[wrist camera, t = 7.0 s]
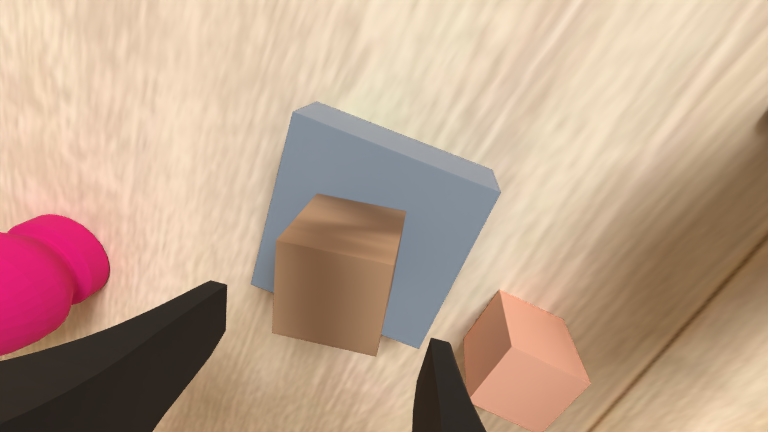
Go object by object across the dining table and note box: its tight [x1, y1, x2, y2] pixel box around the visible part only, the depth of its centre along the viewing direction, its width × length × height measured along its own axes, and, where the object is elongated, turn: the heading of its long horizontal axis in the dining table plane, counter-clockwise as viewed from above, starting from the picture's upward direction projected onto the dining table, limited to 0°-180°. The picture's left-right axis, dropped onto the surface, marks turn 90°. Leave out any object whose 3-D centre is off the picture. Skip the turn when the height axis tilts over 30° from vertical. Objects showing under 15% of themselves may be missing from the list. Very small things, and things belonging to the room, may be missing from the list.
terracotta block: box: [464, 289, 591, 432], centre depth 22 cm, size 4×4×5 cm
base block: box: [251, 102, 501, 349], centre depth 21 cm, size 10×10×4 cm
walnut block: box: [272, 193, 406, 356], centre depth 17 cm, size 4×4×5 cm
